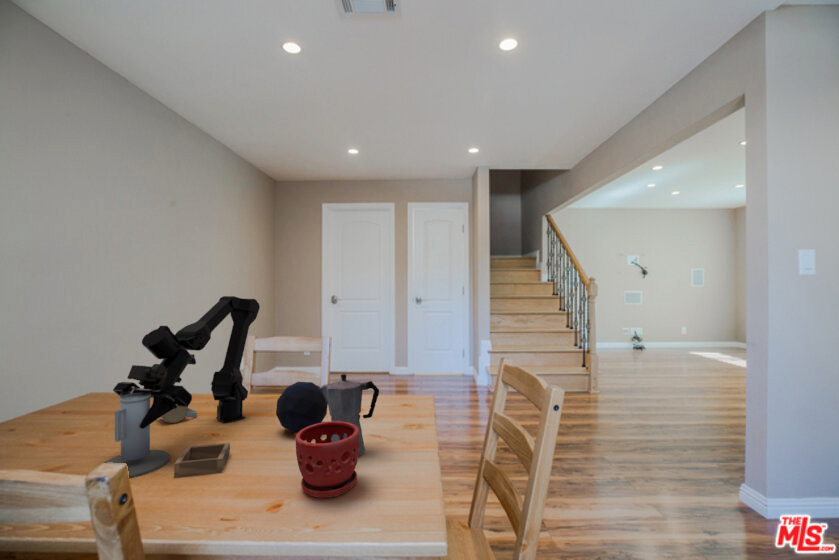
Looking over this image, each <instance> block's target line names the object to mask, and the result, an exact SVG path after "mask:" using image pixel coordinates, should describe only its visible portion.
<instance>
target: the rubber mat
mask: <svg viewBox="0 0 839 560" xmlns="http://www.w3.org/2000/svg"><path fill="white" fill-rule="evenodd" d="M169 459H171V454H170V452H169V451H166V450H162V449H150V453H149V454H148V455H147V456H145V457H142V458H139V459H135V460H122V459H121V454H120V455H118V456H114V457H112V458H110V459H108V460H106V461H104V462H103V463H107V462H113V463H126V464H127V466H128V471H129V477H130V478H129V479H132V478H135V477H134V476H136V477H139V475H140V476H144V475H146V473H147V474H149V472H150V473H153V472H154V471H157V470H160V469H161V468H163V467H164V466H166V465H167V464H168V463H169V461H170V460H169ZM167 462H168V463H167ZM166 463H167V464H166ZM162 466H163V467H162ZM143 474H144V475H143Z"/></svg>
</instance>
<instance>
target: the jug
mask: <svg viewBox="0 0 839 560" xmlns="http://www.w3.org/2000/svg"><path fill="white" fill-rule="evenodd" d="M151 398H152V397H151V393H147V392H141V393H133V394H128V395H124V396H122V397H120V396H119V403H120V409H117V410H115V411H114V442H118V443H119V442H120V455H121V459H122V460H135V459H139V458H142V457H145V456H147V455H148V454H149V453H150V450H151V442H150V441H151V424H149V425H148V426H147V427H145V428H144V429H142V428H140V424H141V422H142V420H143V419H144V417H145V415H146V414H147V412H148V411H149V409H150V408H151Z"/></svg>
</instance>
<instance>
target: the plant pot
mask: <svg viewBox="0 0 839 560" xmlns="http://www.w3.org/2000/svg"><path fill="white" fill-rule="evenodd" d="M344 433H346V434H347V438H346V439H345V438H344ZM334 434H337V435H338V436H339V438H340V441H336V442H332V440H331V437H332V435H334ZM322 436H326V438H324V439H322ZM313 440H314V442H312V441H313ZM358 454H359V430H358V427H357V426H355V425H354V424H351V423H348V422H342V421H331V420H330V421H324V422H323V421H322V422H321V423H317V424H314V425H311V426H308V427H306V428H304V429H302V430H301V431H299V432H298V433H296V435H295V456H296V461H297V465H298V469H299V472H300V474H301V477H302V479H301V480H300V481H301V482H300V485H301V488H302V490H303V491H304V492H305V493H306V494H307V495H309V496H311V497H315V498H324V499H325V498H335V497H337V496H339V495H343V494H344V493H346V492H348V491H349V490H351V488H353V486H355V484H356V482H357V478H358V473H357V471H356V470H355V469H356V467H357V464H358V461H359V455H358Z"/></svg>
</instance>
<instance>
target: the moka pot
mask: <svg viewBox="0 0 839 560" xmlns="http://www.w3.org/2000/svg"><path fill="white" fill-rule="evenodd" d="M340 378H341V380H339V381H334V382H332V383H327V384H323V385H322V386H319V387H320V388H319V390H321V391H322V393H323V395H324V397H325V399H326V401H327V403H328V406H327V408H328V412H329V416H330V417H331V418H330V421H342V422H348V423H351V424H354V425H355V426H357V427H358V430H359V454H358V456H360V455H362V454H363V453H364V451H366V450H365V443H364V437H363V431H362V425H361V421H360V420H361V411H362V401H363V399H362V398H363V391H367V390H369V389H372V390H373V393H372V399H371V402H370V408H369V410H368V413H367V414H362V418H363V419H369V418H372V417H373V414H374V412H375V408H376V403H377V400H378V397H379V394H380V389H379V388H378V387H377V385H375V384H374V382H373V381H372V380H369V381H367V382H366V381H363V382H361V381H357V380H347V374H345V373H343V374H340ZM344 438H345V439H346V438H347V434H346V433H344ZM331 440H332V442H336V441H340V438H339V436H338V435H337V434H334V435H332V437H331Z"/></svg>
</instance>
